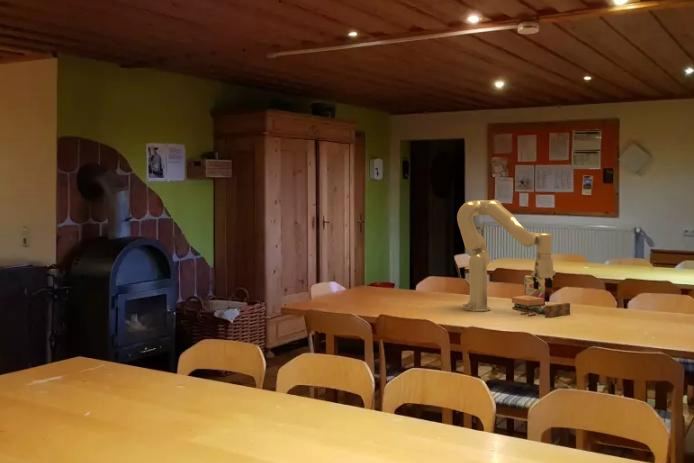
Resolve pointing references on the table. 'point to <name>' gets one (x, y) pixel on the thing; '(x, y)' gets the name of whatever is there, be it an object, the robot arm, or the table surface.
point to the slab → (527, 300)
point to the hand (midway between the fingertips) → (542, 288)
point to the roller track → (527, 308)
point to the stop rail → (557, 310)
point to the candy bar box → (533, 292)
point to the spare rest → (528, 313)
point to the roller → (540, 310)
